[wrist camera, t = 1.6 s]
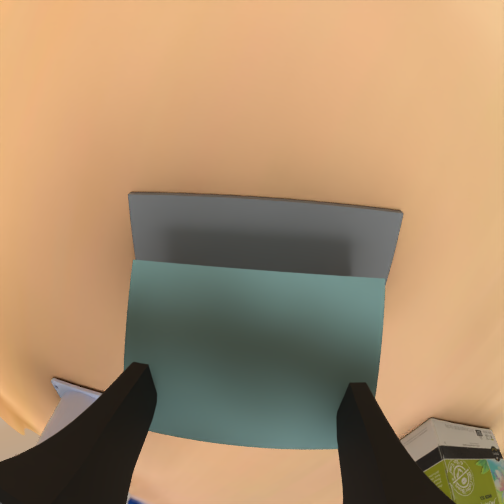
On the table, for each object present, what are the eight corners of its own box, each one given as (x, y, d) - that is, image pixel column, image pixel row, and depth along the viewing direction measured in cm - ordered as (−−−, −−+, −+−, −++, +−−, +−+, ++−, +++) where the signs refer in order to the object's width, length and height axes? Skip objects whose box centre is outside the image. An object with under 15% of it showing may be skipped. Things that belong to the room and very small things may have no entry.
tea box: (493, 425, 25) (522, 516, 12) (438, 464, 29) (454, 549, 16) (430, 414, 23) (463, 547, 10) (364, 460, 27) (373, 573, 14)
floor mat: (339, 405, 22) (340, 408, 21) (164, 390, 23) (163, 393, 22) (400, 210, 15) (403, 213, 14) (131, 192, 15) (128, 194, 15)
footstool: (339, 412, 15) (366, 447, 10) (160, 396, 16) (123, 424, 11) (351, 288, 16) (385, 278, 11) (169, 274, 17) (133, 259, 12)
